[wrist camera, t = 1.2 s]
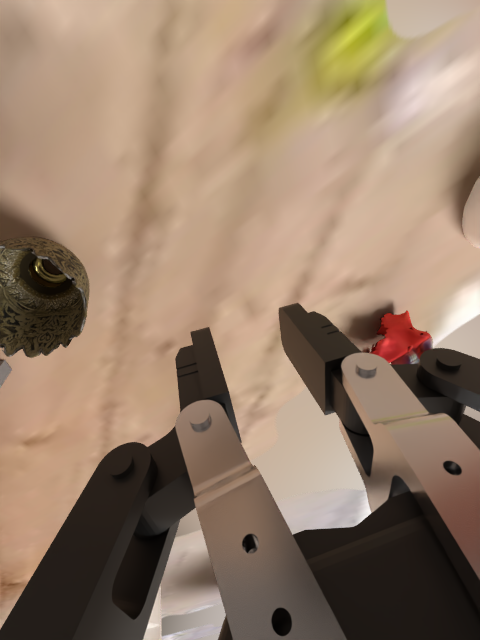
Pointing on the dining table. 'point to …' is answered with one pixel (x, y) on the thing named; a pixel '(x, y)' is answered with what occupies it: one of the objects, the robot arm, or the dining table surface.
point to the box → (4, 371)
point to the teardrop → (472, 216)
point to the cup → (40, 296)
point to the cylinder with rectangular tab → (154, 620)
